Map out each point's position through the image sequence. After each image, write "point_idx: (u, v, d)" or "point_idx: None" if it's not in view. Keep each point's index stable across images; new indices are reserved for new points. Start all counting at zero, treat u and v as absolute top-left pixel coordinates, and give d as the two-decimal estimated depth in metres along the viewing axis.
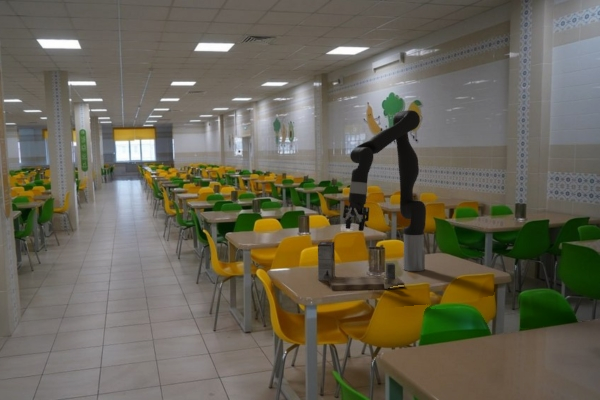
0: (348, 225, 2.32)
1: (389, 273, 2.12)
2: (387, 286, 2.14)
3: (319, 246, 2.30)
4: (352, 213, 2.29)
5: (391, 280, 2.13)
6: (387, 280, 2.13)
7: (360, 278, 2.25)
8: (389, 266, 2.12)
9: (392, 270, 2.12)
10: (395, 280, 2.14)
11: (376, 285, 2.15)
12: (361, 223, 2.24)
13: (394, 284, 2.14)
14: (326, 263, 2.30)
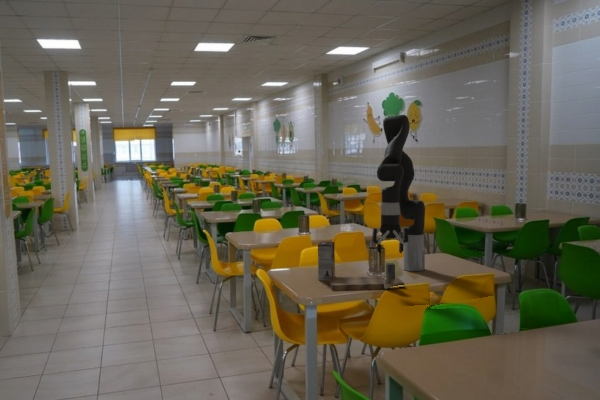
0: None
1: (389, 273, 2.12)
2: (387, 286, 2.14)
3: (319, 246, 2.30)
4: (388, 236, 2.12)
5: (391, 280, 2.13)
6: (387, 280, 2.13)
7: (360, 278, 2.25)
8: (389, 266, 2.12)
9: (392, 270, 2.12)
10: (395, 280, 2.14)
11: (376, 285, 2.15)
12: (402, 245, 2.13)
13: (394, 284, 2.14)
14: (326, 263, 2.30)
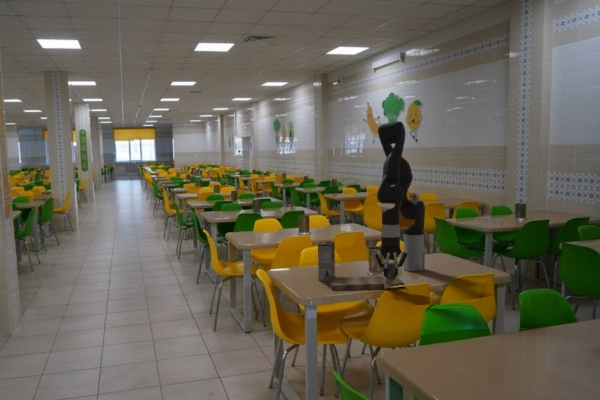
0: None
1: (389, 273, 2.12)
2: (387, 286, 2.14)
3: (319, 246, 2.30)
4: (390, 257, 2.12)
5: (391, 280, 2.13)
6: (387, 280, 2.13)
7: (360, 278, 2.25)
8: (389, 266, 2.12)
9: (392, 270, 2.12)
10: (395, 280, 2.14)
11: (376, 285, 2.15)
12: (397, 269, 2.13)
13: (394, 284, 2.14)
14: (326, 263, 2.30)
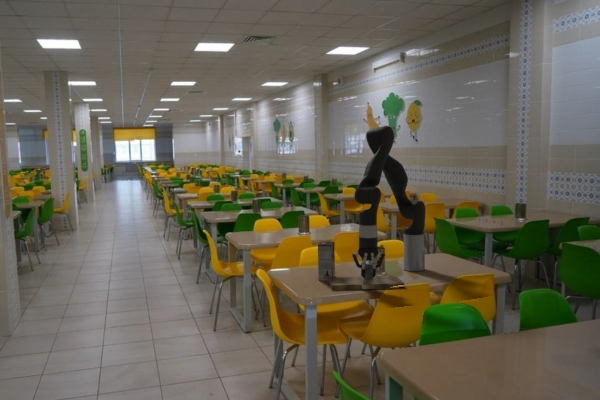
0: (364, 274, 2.13)
1: (367, 274, 2.12)
2: (364, 286, 2.13)
3: (319, 246, 2.30)
4: (368, 257, 2.12)
5: (369, 281, 2.13)
6: (365, 281, 2.13)
7: (360, 278, 2.25)
8: (367, 267, 2.12)
9: (370, 271, 2.12)
10: (373, 281, 2.13)
11: (376, 285, 2.15)
12: (374, 270, 2.13)
13: (372, 285, 2.13)
14: (326, 263, 2.30)
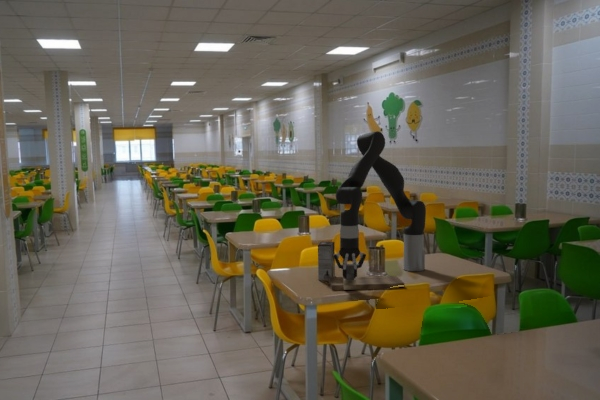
0: None
1: (348, 274, 2.12)
2: (346, 287, 2.13)
3: (319, 246, 2.30)
4: (349, 258, 2.12)
5: (350, 281, 2.13)
6: (346, 281, 2.13)
7: (360, 278, 2.25)
8: (348, 267, 2.11)
9: (351, 271, 2.12)
10: (354, 281, 2.13)
11: (376, 285, 2.15)
12: (356, 270, 2.12)
13: (353, 285, 2.13)
14: (326, 263, 2.30)
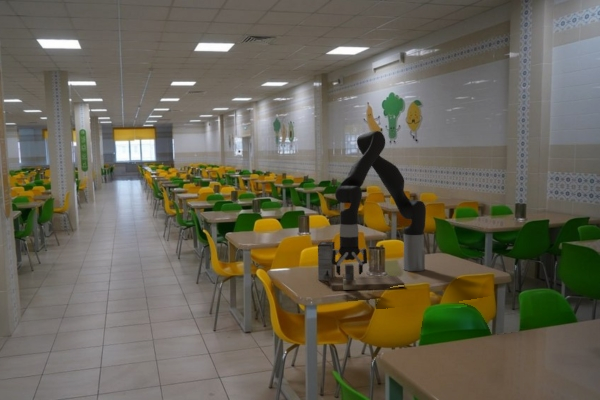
0: (339, 271, 2.13)
1: (348, 274, 2.12)
2: (345, 287, 2.13)
3: (319, 246, 2.30)
4: (347, 258, 2.11)
5: (350, 281, 2.13)
6: (346, 281, 2.13)
7: (360, 278, 2.25)
8: (347, 267, 2.11)
9: (351, 271, 2.12)
10: (354, 281, 2.13)
11: (376, 285, 2.15)
12: (361, 266, 2.12)
13: (353, 285, 2.13)
14: (326, 263, 2.30)
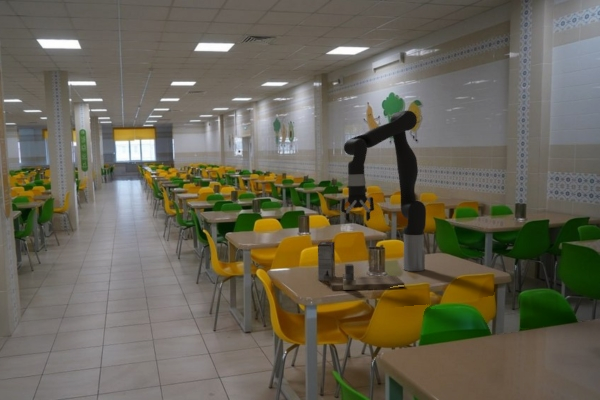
0: None
1: (348, 274, 2.12)
2: (345, 287, 2.13)
3: (319, 246, 2.30)
4: (355, 205, 2.29)
5: (350, 281, 2.13)
6: (346, 281, 2.13)
7: (360, 278, 2.25)
8: (347, 267, 2.11)
9: (351, 271, 2.12)
10: (354, 281, 2.13)
11: (376, 285, 2.15)
12: (369, 213, 2.31)
13: (353, 285, 2.13)
14: (326, 263, 2.30)
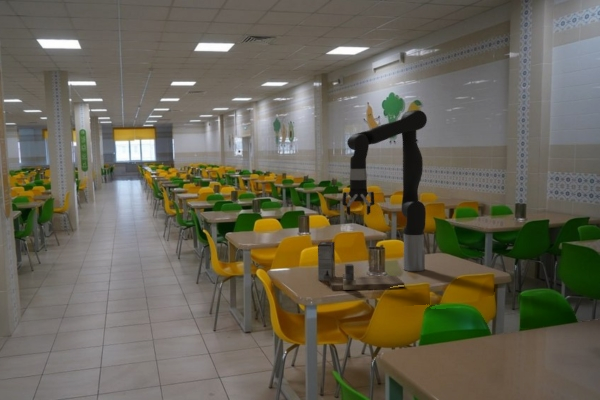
0: (349, 211, 2.36)
1: (348, 274, 2.12)
2: (345, 287, 2.13)
3: (319, 246, 2.30)
4: (356, 199, 2.35)
5: (350, 281, 2.13)
6: (346, 281, 2.13)
7: (360, 278, 2.25)
8: (347, 267, 2.11)
9: (351, 271, 2.12)
10: (354, 281, 2.13)
11: (376, 285, 2.15)
12: (369, 207, 2.36)
13: (353, 285, 2.13)
14: (326, 263, 2.30)
